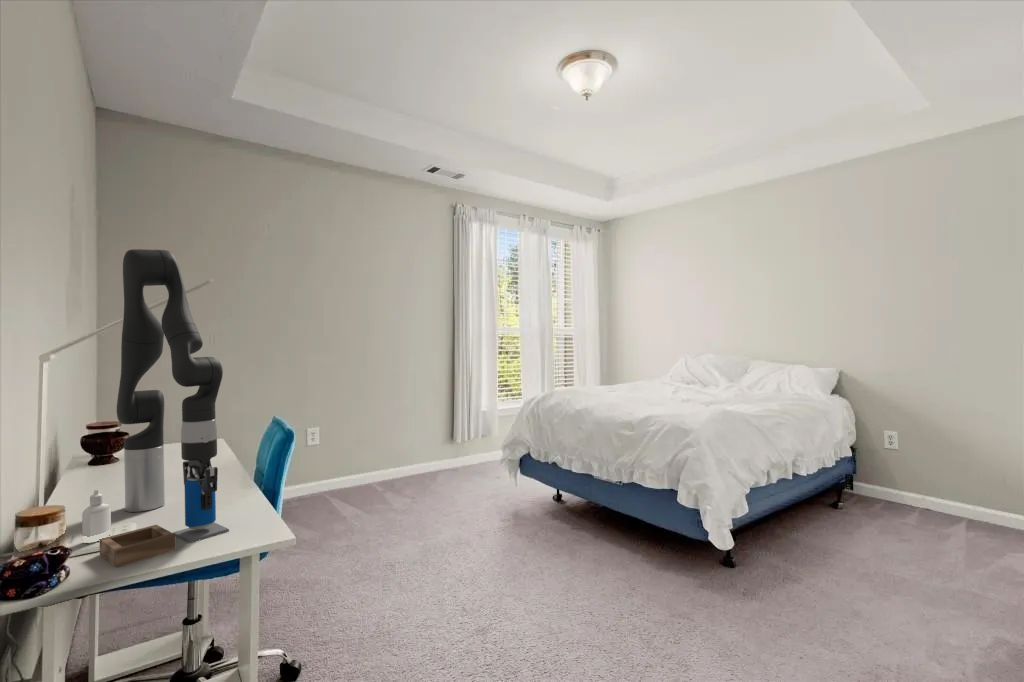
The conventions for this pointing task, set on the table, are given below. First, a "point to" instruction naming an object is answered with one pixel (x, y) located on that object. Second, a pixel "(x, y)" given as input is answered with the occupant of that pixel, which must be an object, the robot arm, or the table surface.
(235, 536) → the table surface
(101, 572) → the table surface
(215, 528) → the rubber mat
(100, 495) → the eye dropper bottle
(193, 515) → the beverage can
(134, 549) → the walnut collar
